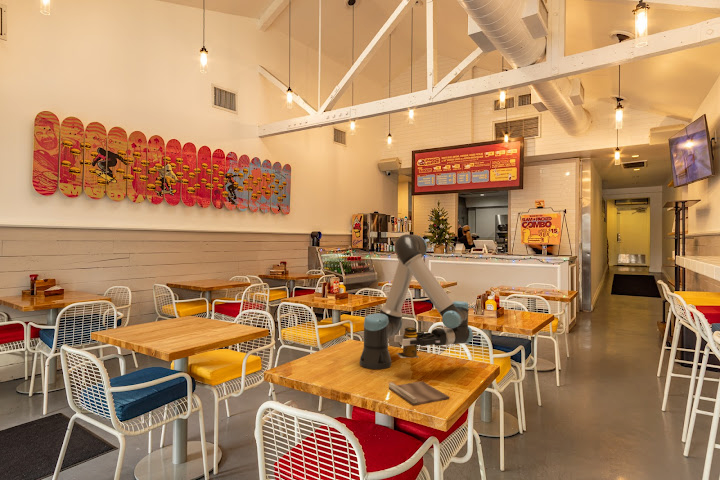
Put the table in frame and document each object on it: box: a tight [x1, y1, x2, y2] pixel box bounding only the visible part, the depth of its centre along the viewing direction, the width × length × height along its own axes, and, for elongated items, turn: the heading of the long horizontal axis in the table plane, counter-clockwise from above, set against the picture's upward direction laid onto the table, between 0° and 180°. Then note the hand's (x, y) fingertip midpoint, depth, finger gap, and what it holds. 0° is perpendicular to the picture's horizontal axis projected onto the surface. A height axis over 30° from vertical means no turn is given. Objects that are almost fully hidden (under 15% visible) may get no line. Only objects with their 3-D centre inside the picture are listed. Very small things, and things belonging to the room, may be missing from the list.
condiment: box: [396, 326, 420, 359], centre depth 173 cm, size 7×8×12 cm
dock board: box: [388, 380, 450, 406], centre depth 154 cm, size 16×18×2 cm
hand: (398, 340), depth 171 cm, fingers closed on condiment, 6 cm apart
